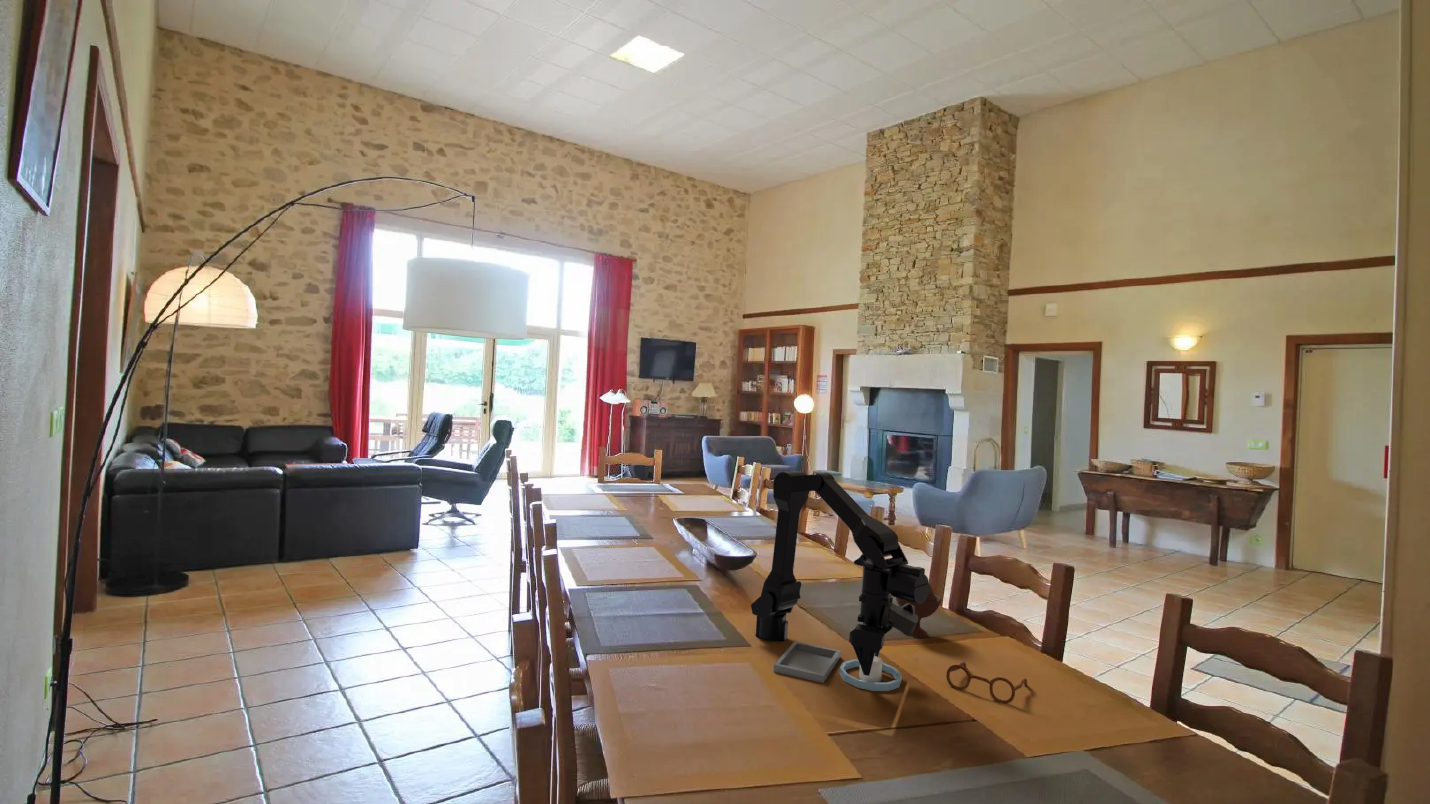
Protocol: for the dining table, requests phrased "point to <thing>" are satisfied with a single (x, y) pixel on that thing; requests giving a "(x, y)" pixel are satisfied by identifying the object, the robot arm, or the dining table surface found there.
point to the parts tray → (807, 661)
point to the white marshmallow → (873, 671)
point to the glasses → (969, 677)
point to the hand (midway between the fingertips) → (870, 666)
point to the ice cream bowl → (923, 610)
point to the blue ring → (870, 685)
